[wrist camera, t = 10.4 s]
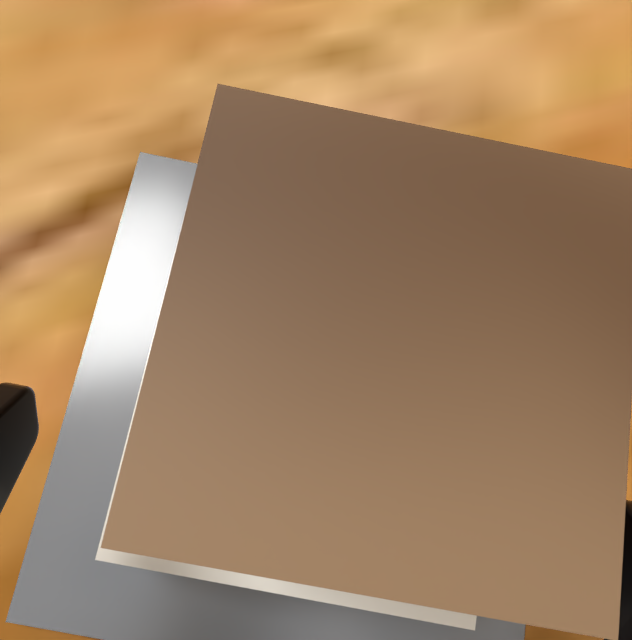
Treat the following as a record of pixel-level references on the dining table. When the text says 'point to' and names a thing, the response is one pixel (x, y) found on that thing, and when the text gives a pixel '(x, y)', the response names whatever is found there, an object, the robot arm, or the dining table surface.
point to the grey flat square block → (103, 471)
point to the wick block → (391, 368)
